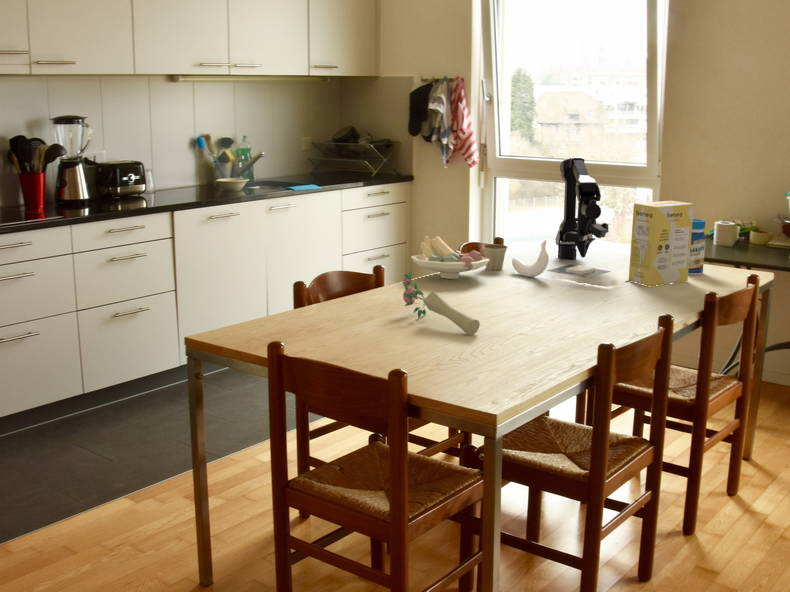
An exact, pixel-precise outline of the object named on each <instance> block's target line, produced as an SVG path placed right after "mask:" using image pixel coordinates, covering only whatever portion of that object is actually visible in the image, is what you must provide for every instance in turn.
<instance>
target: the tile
mask: <svg viewBox="0 0 790 592" xmlns="http://www.w3.org/2000/svg"><path fill="white" fill-rule="evenodd" d="M595 269H596V267H593V266H587V265H586V266H585V265H581V264H579V265H576V266H574V267H570V268H566V272H570V273H576V274H581V275H582V274H586V273H590V272H593V271H595Z"/></svg>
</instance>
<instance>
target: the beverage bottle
mask: <svg viewBox="0 0 790 592" xmlns="http://www.w3.org/2000/svg"><path fill="white" fill-rule="evenodd" d="M705 229H706V220H704V219H700V218H693V223H692V235H691V246H690V258H689V270H688V276H700V275H701V276H702V274H704V263H705V253H706V251H705V250H706V248H707V246H706V241H707V237H706V234H705V232H704V230H705Z"/></svg>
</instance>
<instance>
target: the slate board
mask: <svg viewBox="0 0 790 592" xmlns="http://www.w3.org/2000/svg"><path fill="white" fill-rule="evenodd" d="M574 266H577V265H574V264H566V265H562V266H558V267H555V268H551V269H545V271H546V272H552V273H556V274H557V273H558V274H563V275H568V276H575V277H579V278H587V279H590V278H593V277H597V276H601V275H604V274H608V273H611V270H610V271H609V270H605V269H600V268H599V269H598V268H595V271H593V272H590V273H586V274H582V275H581V274H576V273H570V272H566V268H570V267H574Z"/></svg>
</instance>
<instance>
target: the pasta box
mask: <svg viewBox="0 0 790 592" xmlns="http://www.w3.org/2000/svg"><path fill="white" fill-rule="evenodd" d="M694 208H695V203H692V202H684V201H677V200H661V201H649V202H647V201H646V202H635V203H633V213H632V225H631V226H632V228H631V240H630V241H631V243H630V256H629V268H628V269H629V270H628V282H629V281H633V282H637V283H640V284H644V285H647V286H646V287H648V286H655V287H657V286H656V285H662V284H669V285H671V284H670V283H676V284H678V283H677V282H683V283H686V282H685V281H687V282H688V279H689V275H688V270H689V258H690V246H691V235H692V223H693V219H694ZM633 282H632V283H633ZM637 283H636V284H637ZM640 284H639V285H640ZM644 285H643V286H644ZM662 286H663V285H662Z"/></svg>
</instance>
